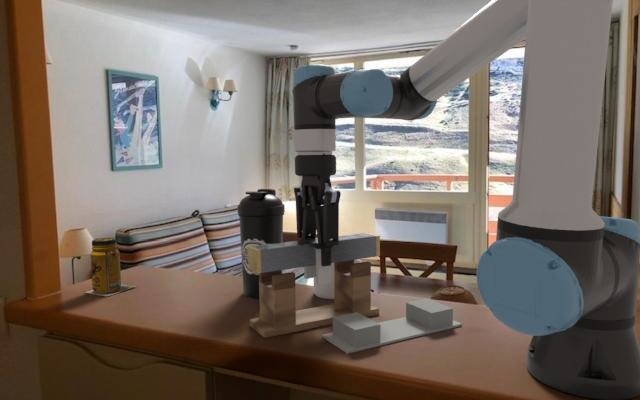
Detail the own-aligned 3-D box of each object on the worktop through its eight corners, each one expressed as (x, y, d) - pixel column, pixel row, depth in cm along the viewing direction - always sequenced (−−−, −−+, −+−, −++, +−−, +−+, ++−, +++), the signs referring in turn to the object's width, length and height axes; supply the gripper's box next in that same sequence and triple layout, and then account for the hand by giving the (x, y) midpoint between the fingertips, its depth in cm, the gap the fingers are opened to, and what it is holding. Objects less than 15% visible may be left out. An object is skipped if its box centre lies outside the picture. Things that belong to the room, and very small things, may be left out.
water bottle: (231, 298, 110) (228, 191, 107) (251, 285, 119) (249, 187, 117) (275, 302, 107) (273, 192, 104) (292, 288, 116) (290, 188, 114)
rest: (461, 325, 92) (462, 307, 92) (347, 353, 80) (347, 332, 80) (431, 313, 99) (432, 296, 99) (322, 337, 87) (322, 317, 87)
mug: (372, 294, 112) (373, 248, 111) (357, 304, 105) (357, 255, 104) (324, 287, 118) (324, 243, 116) (306, 296, 110) (306, 250, 109)
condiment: (83, 293, 114) (80, 240, 113) (114, 283, 122) (112, 234, 120) (106, 297, 111) (103, 243, 110) (136, 287, 118) (134, 236, 117)
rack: (379, 314, 99) (379, 261, 97) (264, 338, 87) (263, 278, 86) (359, 304, 105) (359, 254, 103) (249, 325, 93) (248, 269, 92)
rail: (368, 252, 102) (368, 232, 102) (379, 256, 99) (379, 235, 98) (248, 268, 90) (247, 246, 89) (256, 273, 86) (256, 250, 86)
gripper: (358, 153, 87) (360, 287, 89) (311, 153, 102) (313, 268, 104) (320, 154, 83) (322, 294, 85) (276, 154, 98) (279, 273, 100)
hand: (317, 279), depth 95 cm, fingers closed on rail, 4 cm apart
